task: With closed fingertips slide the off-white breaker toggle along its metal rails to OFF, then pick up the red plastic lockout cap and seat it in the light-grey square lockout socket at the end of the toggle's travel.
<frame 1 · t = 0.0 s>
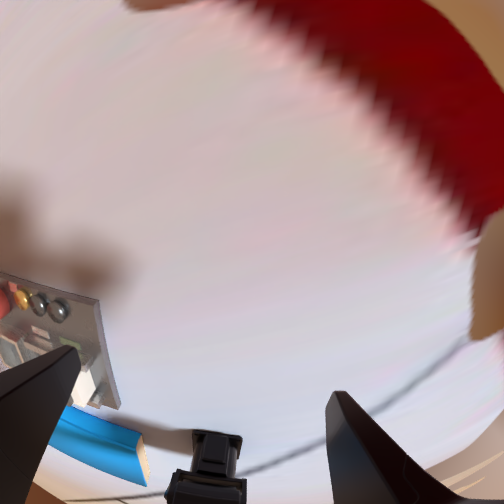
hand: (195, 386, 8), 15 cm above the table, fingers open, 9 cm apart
breaker: (70, 383, 24), point 3 cm above the table, slide at 0.0 cm
book: (83, 429, 35), on the table
panel: (46, 338, 27), on the table
lockout cap: (1, 300, 24), point 1 cm above the table, touching panel
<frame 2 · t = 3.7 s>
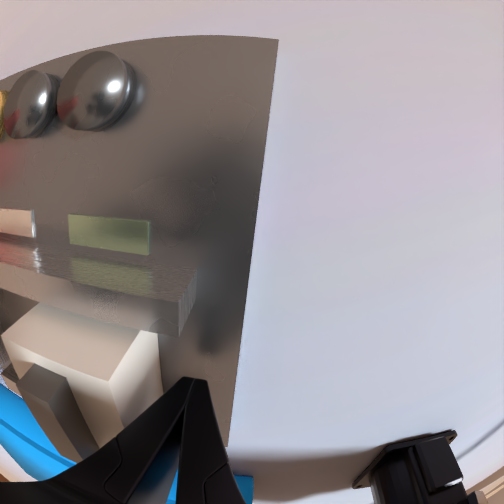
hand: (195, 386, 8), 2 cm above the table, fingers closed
breaker: (84, 386, 7), point 3 cm above the table, slide at 0.3 cm, touching gripper
book: (106, 467, 17), on the table
panel: (27, 256, 10), on the table
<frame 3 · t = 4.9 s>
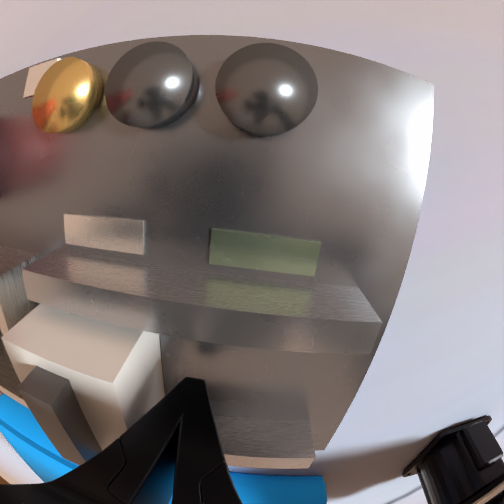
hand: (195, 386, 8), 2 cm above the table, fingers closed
breaker: (86, 388, 7), point 4 cm above the table, slide at 5.1 cm, touching gripper
book: (153, 483, 17), on the table
panel: (109, 274, 9), on the table
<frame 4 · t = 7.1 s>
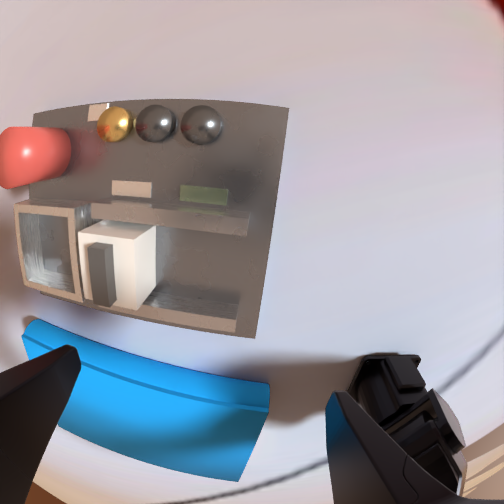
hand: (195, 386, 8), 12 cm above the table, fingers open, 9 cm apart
breaker: (115, 264, 16), point 3 cm above the table, slide at 5.0 cm
book: (143, 401, 26), on the table
panel: (131, 213, 19), on the table
lockout cap: (53, 153, 16), point 1 cm above the table, touching panel
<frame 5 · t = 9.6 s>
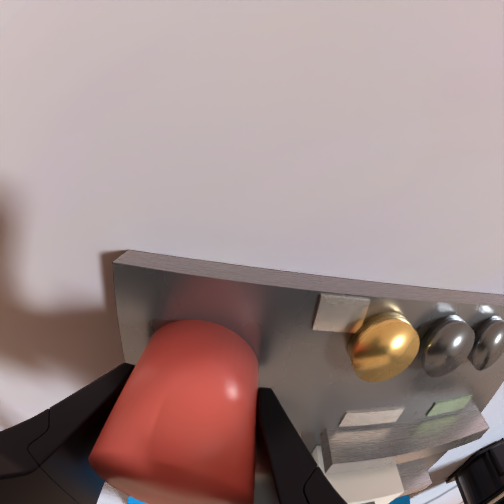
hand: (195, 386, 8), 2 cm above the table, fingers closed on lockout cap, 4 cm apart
breaker: (344, 495, 9), point 4 cm above the table, slide at 5.0 cm
panel: (343, 423, 12), on the table
lockout cap: (201, 366, 9), point 1 cm above the table, touching gripper, panel
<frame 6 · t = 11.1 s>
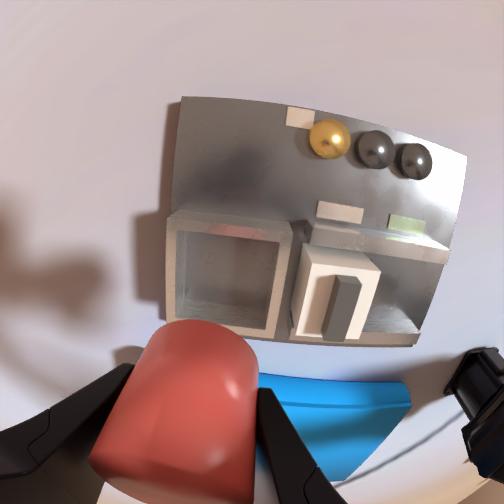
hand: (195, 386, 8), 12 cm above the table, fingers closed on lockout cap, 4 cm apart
breaker: (333, 294, 16), point 4 cm above the table, slide at 5.0 cm
book: (265, 421, 26), on the table
panel: (322, 236, 19), on the table
lockout cap: (200, 366, 9), point 11 cm above the table, touching gripper
when the fingers open (4 cm above the table, at t = 12.7 s): lockout cap drops 2 cm, resting on panel.
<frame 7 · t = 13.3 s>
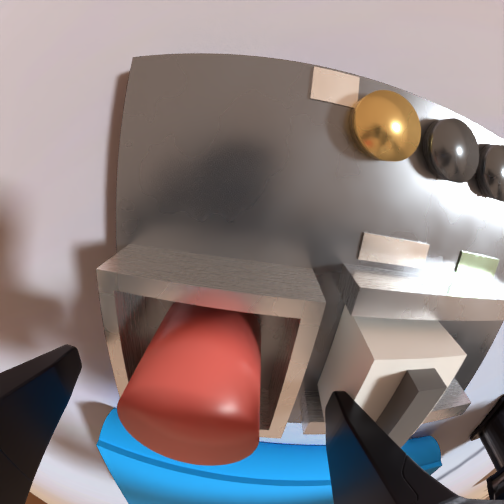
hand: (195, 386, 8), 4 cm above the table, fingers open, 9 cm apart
breaker: (388, 383, 9), point 3 cm above the table, slide at 4.5 cm, touching gripper
book: (266, 478, 19), on the table
panel: (361, 284, 11), on the table
lockout cap: (211, 334, 11), point 1 cm above the table, touching panel
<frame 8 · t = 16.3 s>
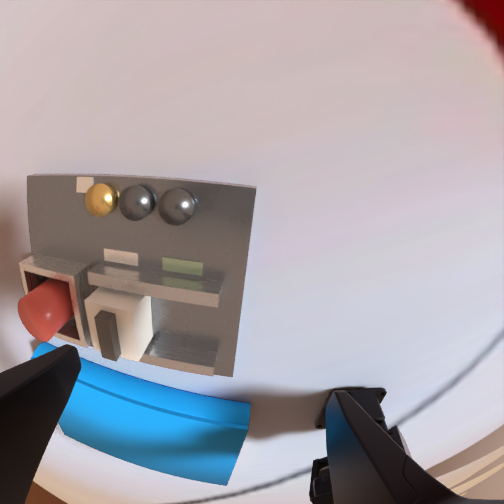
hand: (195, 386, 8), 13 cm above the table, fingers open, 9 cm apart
breaker: (118, 323, 19), point 4 cm above the table, slide at 4.5 cm
book: (140, 414, 29), on the table
panel: (123, 273, 21), on the table
lockout cap: (65, 293, 21), point 1 cm above the table, touching panel
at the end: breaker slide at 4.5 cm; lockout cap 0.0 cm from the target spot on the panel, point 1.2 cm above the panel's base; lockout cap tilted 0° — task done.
